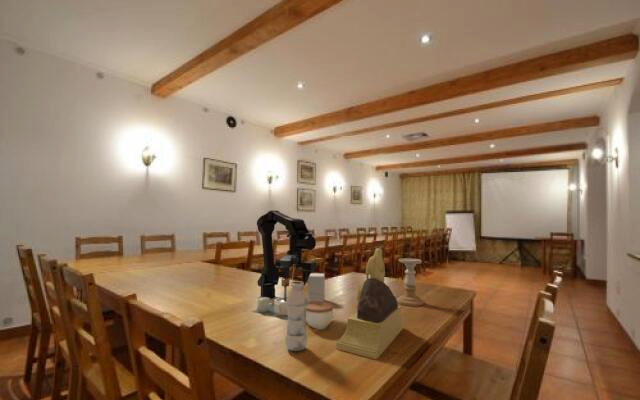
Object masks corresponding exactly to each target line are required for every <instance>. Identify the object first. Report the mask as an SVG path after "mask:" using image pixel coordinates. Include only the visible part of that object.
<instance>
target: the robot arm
mask: <svg viewBox="0 0 640 400" xmlns="http://www.w3.org/2000/svg"><path fill="white" fill-rule="evenodd" d="M277 223H278V224H281V225H282V226H284V228H285V230H286V231H288V232H289V233H288V234H287V235H286V237H287V238H289V239H288V242H289V244H288V249H289V250H287V251H286V255H284V256H283V257H281V258H277V259H276V260H275V258H274V257H275V256H274V246H273V245H274V244H273V233H274V231H275V228H276V227H275V226H276V225H277ZM256 226H257V231H258V232H259V234H260V235H261V243H262V254H263V266H262V269H261V271H260V274H261V275H260V276H259V278H258V280H257V281H256V283H257V286H258V287H260V296H259V297H258V298H260V297H268V298H270V300H271V299H276V297H277V295H276V287H275V286H278V284H279V280H280V271H281V274H282V276H283V278H289V277H290V268H292V267H300V268H302V269H301V273H302V282H303V283H304V287H305V286H306V284H307V283H308V278H309V276H310V274H311V273H313V271H315V270H316V269H318V264H317V262H316V261H311V260H308V261H305V259H304V258H303V253H304V252H305V251H306V250H307V251H312V250H314V249H315V247H316V245H317V241H316V239H315V237H314V236H313V233H310V232H309V230H308V227H307V224H306V223H305V220H304V219H301V218H297V217H296V218H294V217H290V216H288V215H286V214H284V213H282V212H280V211H279V210H269V211H267V213H265V214H263V215H261V216H260V217H259V218H258V219H257V221H256ZM304 261H305V262H304ZM289 279H290V278H289ZM258 298H257V299H258ZM277 298H278V297H277Z"/></svg>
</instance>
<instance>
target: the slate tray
mask: <svg viewBox="0 0 640 400" xmlns="http://www.w3.org/2000/svg"><path fill="white" fill-rule="evenodd" d="M251 313H256V314H259V315H264V316H268V317H273V318H277V319H281V320H285V321H288V315H285V316H283V315H277V314H275V312H274V302H273V303H271V304H270V311H269V312H266V313H259V312H257V309H254V310H252V311H251Z"/></svg>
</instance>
